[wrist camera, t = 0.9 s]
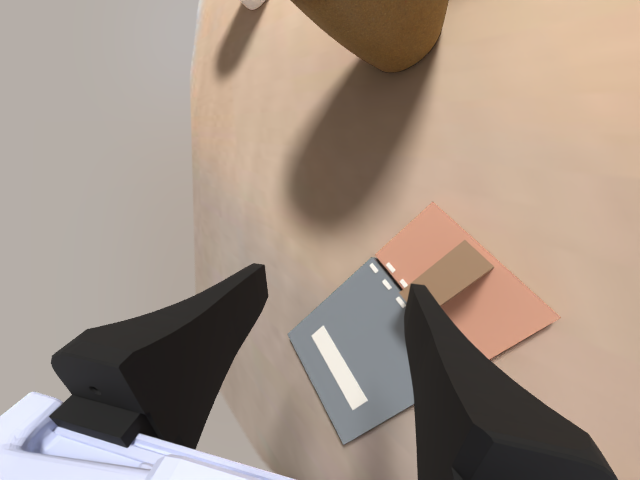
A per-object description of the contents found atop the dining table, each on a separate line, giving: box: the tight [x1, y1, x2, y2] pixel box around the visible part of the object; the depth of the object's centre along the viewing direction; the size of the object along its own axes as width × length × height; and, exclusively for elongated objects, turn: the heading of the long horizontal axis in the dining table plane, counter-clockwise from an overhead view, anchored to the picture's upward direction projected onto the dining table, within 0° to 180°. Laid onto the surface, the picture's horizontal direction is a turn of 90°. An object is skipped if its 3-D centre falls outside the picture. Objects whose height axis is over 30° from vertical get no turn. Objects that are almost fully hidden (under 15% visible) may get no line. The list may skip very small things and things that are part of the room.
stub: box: [375, 202, 561, 359], centre depth 20 cm, size 12×7×5 cm, turn 38°
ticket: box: [288, 257, 414, 445], centre depth 25 cm, size 12×14×1 cm
